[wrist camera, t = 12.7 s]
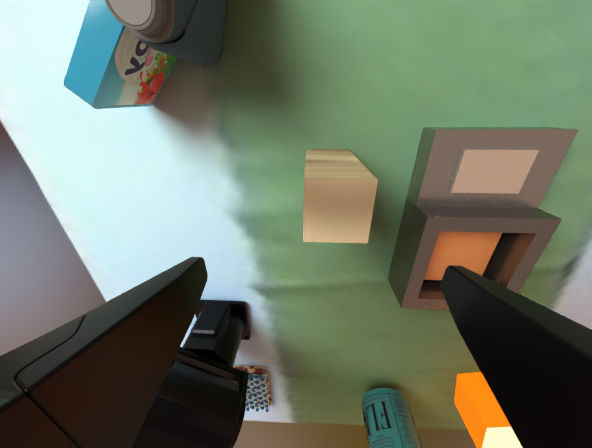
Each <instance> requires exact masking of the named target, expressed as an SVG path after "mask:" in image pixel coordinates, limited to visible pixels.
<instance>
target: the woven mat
mask: <svg viewBox="0 0 592 448" xmlns="http://www.w3.org/2000/svg"><path fill="white" fill-rule="evenodd" d="M233 367H234V368H237V369H240V370H242V369H244V370H245V371H248V372H249V376H248V386H247V396H246V406H245V407H246V410H247V411H249V407H250V408H252V409H254V407H255V408H256V411H259V409H258V407H260V409H264V407H265V408H266V412H268V408H269V407H270V404H271V403H272V402H273V401H272V400H271V399H269V397H270V396H271V393H270V392H269V391H268V390H269V388H268V387H267V386H270V382H269V380H266V378H267V376H268V373H267V372H266V371H263V369H266V367H263V366H255V367H253V366H237V365H233ZM244 370H242V371H244ZM258 370H260V371H258Z"/></svg>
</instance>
